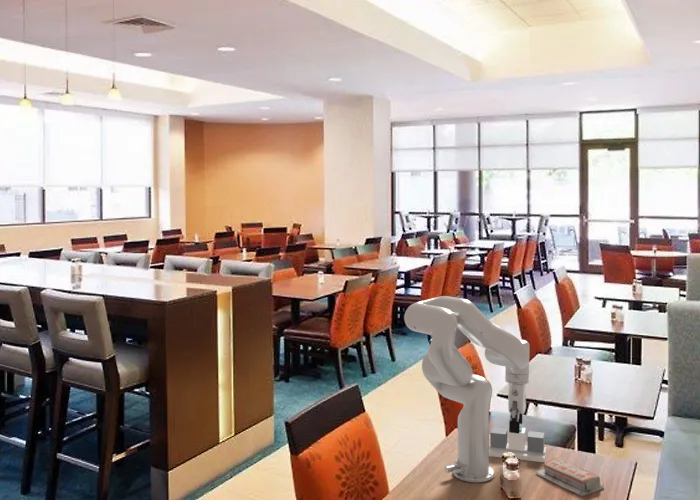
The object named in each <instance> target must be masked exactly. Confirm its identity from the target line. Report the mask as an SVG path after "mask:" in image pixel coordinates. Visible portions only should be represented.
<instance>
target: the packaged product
mask: <svg viewBox="0 0 700 500" xmlns="http://www.w3.org/2000/svg"><path fill="white" fill-rule="evenodd" d="M535 473H536V475H537V476H539V477H540V478H543V479H546V480H547V481H549V482H552V483H554V484H556V485H558V486H560V487H561V488H564V489H566V490H568V491H570V492H572V493H575V494H576V495H578V496H581V497H585V496H588V495H590V494H593V493H596V492H599V491H600V490H603V489H605V486H604V483H602V482H600V481H601V479H600V476H599V475H597V474H595V473H593V472H590V471H588V470H586V469H585V468H581V467H579V466H577V465H574V464H572V463H571V462H568V461H566V460H563V459H561V458H558V457H551V459H550V460H548V461H546V462H544V463H543V466H542V469H540V470H538V471H535Z"/></svg>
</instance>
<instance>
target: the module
mask: <svg viewBox="0 0 700 500" xmlns="http://www.w3.org/2000/svg"><path fill="white" fill-rule="evenodd" d="M526 428H527V427H523V426H520V427H519V433H510V432H509V431H508V443H509V449H511V450H520V451H524V450H525V446H526V444H527V443H526V435H527V433H526V432H527V431H526Z"/></svg>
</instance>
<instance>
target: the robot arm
mask: <svg viewBox="0 0 700 500" xmlns="http://www.w3.org/2000/svg"><path fill="white" fill-rule="evenodd" d="M403 318H404V323H405V326H406V327H407V328H408V329H409V330H410V331H413V332H416V333H421V334H426V335H429V336H432V338H431V340H430V344H429V346H428V348H427V349H428V350H427V353H426V354H425V355H424V356H423V358H422V361H421V371H422V374H423V376H424V377H425V379H426V380H427V381H428V383H430V385H431V386H432V388H434V389H435V390H436V392H438V394H439V395H441V397H443V398H445V399H448V400H451V401H454V402H456V403H460V404H463V407H462V409H461V411H460V412H459V414H458V415H457V459H454V463H453V464H452V465H451V464H450V465H446V466H444V472H445V473H447V474H448V473H452V474H453V476H454V477H455V478H456V479H458V480H460V481H464V482H467V483H484V482H488V481H491V480H492V479H493V478H494V476H495V471H494V469H493V468H492V467H491V466H490V456H489V445H490V408H491V403H492V402H491V401H492V397H493V387H492V383H491V382H490V381H489V380H488V379H487V378H485V377H483V376H482V375H479V374H475V373H473V369H472V366H471V364H470V362H469V361H468V360H467V359H466V358H465V356H464V355H463V354H462V353H461V352H460V350H459V349H458V348H457V346H456V345H455V338H456V333H457V330H459V331H460V332H462V334H463V335H464V336H466V338H467V339H469V340H470V341H471V343H473V344H475V345H477V346H478V347H480V348H482V349H483V348H484V357H485V359H486V360H487V361H488V362H489V363H491V364H492V365H495V366H501V367H505V372H504V373H505V375H504V379H505V382H506V383H508V395H507V396H508V398H507V401H508V409H507V410H508V413H509V414H510V415H509V422H508V423H509V424H508V425H509V426H508V428H509V429H508V433H509V432H510V433H519V427H521V425H522V424H523V415H524V414H525V412H526V409H527V384H529V381H530V380H529V379H530V346H531V345H530V343H529V342H528V341H527V340H525V339H520V338H518V337H517V336H515V335H514V334H512V333H511V332H509V331H507V330H505V329H504V328H502V327H500V326H499V325H497V324H495V323H493V322H492V321H490V319H488V317H486V315H485V314H484V313H483V312H482V311H481V310H480V309H479V307H477V306H476V305H475V304H474V303H473V302H472V301H470V300H469V299H466V298H461V297H456V296H455V297H454V296H447V295H442V296H436V297H433V298H429V299H424V300H420V301H416V302H414V303H412V304H411V305H409V306H408V307H407V309H406V310H405V313H404V317H403Z"/></svg>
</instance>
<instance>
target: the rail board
mask: <svg viewBox="0 0 700 500" xmlns="http://www.w3.org/2000/svg"><path fill="white" fill-rule="evenodd" d="M526 444H527V445H526V446H525V450H524V451H520V450H511V449H509V442H508V428H499V427H493V426H492V427H491V430H490V431H489V457H495V458H501V456H502V454H503V453H508V452H512V453H514V454H515V455H516V457H517V458H519V459H520V461H521V460H522V461H528V462H538V463H546V462H545V461H546V456H547V447H545V432H542V431H532V430H531V431H528V433H527V443H526ZM519 459H518V460H519Z"/></svg>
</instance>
